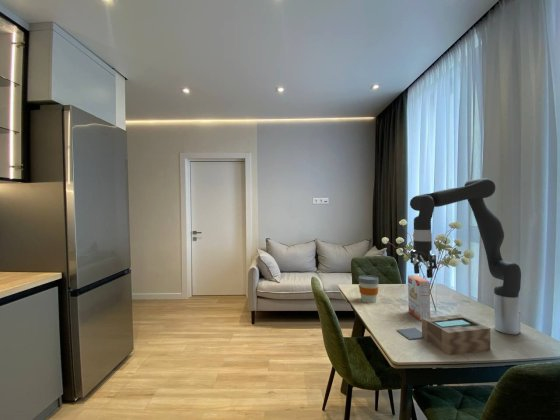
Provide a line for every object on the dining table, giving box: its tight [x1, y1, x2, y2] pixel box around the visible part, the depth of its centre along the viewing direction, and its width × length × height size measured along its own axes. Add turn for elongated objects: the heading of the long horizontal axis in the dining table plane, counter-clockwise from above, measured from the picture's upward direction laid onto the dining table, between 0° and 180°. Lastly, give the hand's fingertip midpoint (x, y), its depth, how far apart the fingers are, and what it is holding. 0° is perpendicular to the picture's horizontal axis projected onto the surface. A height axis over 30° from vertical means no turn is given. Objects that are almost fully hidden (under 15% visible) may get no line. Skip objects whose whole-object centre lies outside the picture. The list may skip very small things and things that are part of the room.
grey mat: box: [396, 327, 424, 341], centre depth 135 cm, size 10×10×1 cm
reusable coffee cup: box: [358, 274, 380, 304], centre depth 185 cm, size 13×13×15 cm
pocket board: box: [421, 314, 491, 356], centre depth 125 cm, size 20×16×9 cm
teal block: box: [435, 320, 470, 328], centre depth 125 cm, size 14×4×4 cm, turn 101°
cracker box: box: [407, 274, 431, 321], centre depth 158 cm, size 14×6×21 cm, turn 179°
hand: (422, 275), depth 129 cm, fingers open, 8 cm apart
